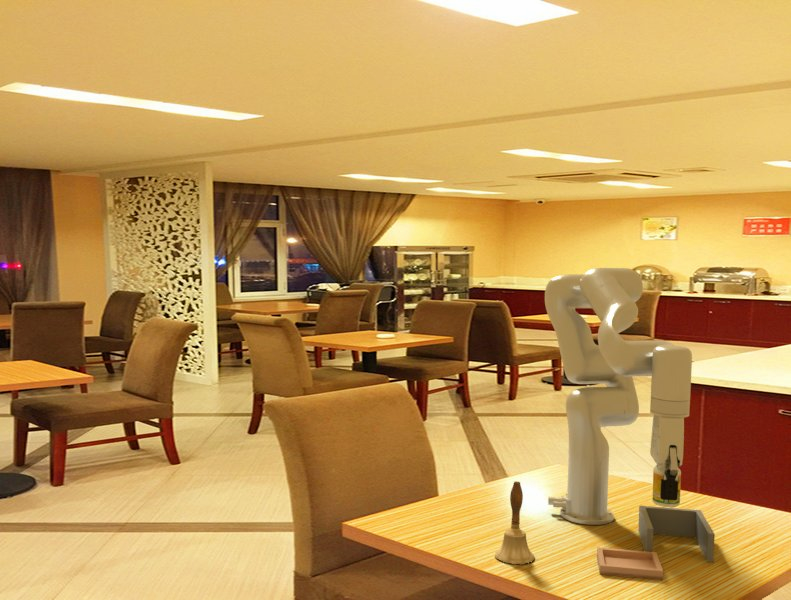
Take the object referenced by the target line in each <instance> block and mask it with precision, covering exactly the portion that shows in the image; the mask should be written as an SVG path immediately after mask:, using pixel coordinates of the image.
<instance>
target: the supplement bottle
mask: <svg viewBox="0 0 791 600" xmlns="http://www.w3.org/2000/svg"><path fill="white" fill-rule="evenodd" d="M665 464H670V462H668V461H665ZM656 465H657V464H656ZM656 465H655V466H654V467H653V469H652V470H653V471H652V475H653V476H652V503H653V504H655V505H656V506H658V507H664V508H676V507H678V506H679V505H681V489H682V488H681V486H682V485H681V481H682V471H681V469H680V468H679V467H678V496H677V500H663V499H661V498H660V491H661V479H663V464H661V465H657V466H656ZM668 469H669V468H666V472H667V470H668Z"/></svg>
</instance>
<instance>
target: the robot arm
mask: <svg viewBox="0 0 791 600" xmlns="http://www.w3.org/2000/svg"><path fill="white" fill-rule="evenodd" d="M643 289H644V285H643V280H642V278H641V277H640V275H639V274H638V272H636V271H635V270H634V269H631V268H628V267H596V268H592V269H589V270H588V271H586V272H584V273H583V274H582V273H581V274H577V273H576V274H572V273H571V274H562V275H561V274H560V275H557V276H554V277H552V278H551V279H550V280H549V281H548V282H547V284H546V287H545V290H544V305H545V310H546V313H547V316H548V318H549V321H550V322H551V325H552V327H553V329H554V332H555V335H556V339H557V344H558V349H559V353H560V357H561V361H562V367H563V370H564V374H565V377H566V379H567V380H568V382H570V383H573V384H578V385H595V384H596V385H597V384H599V385H600V384H601V385H603V384H605V386H589V387H587V386H586V387H580V388H576V389H574V390H572V391H571V392H569V394H568V395H567V397H566V400H565V413H566V418H567V425H568V428H567V429H568V459H567V461H568V462H567V463H568V464H567V492H566V493H565V496H561V497H555V496H548V501H547V503H548V505H549V506H552V507H553V508H560V511H559V512H560V516H561V517H562V518H563V519H564V520H566V521H568V522H572V523H576V524H581V525H588V526H589V525H590V526H591V525H593V526H599V525H600V526H601V525H605V524H610V523H611V522H613V521H614V516H615V515H614V512H612V511H611V510H610V509H608V499H609V498H608V495H609V493H608V492H609V467H610V446H609V442H608V440H607V438H606V436H605V434H604V433H603V431H602V430H601V428H605V427H621V426H622V427H623V426H629V425H631V424H632V425H633V424H634V423H635V422H636V421H637V419H638V417H639V414H640V413H639V412H640V407H639V406H640V405H639V399H638V394H637V389H636V387H635V382H634V378H633V377H651V380H650V381H651V384H650V385H651V386H650V405H649V406H650V408H649V409H650V410H649V413H650V414H651V415H653V417H652V426H651V438H650V447H649V448H650V450H649V452H650V456H651V457H652V460H653V461H654V463H655V466H657V465H661V464H663V479H661V491H660V498H661V499H663V500H677V496H678V468H679V467H681V466H682V465H683V459H684V444H685V443H684V441H685V436H684V435H685V418H688V417H690V406H691V387H692V370H693V369H692V368H693V366H692V364H693V363H692V362H693V354H692V351H691V349H689V348H688V347H686V346H682V345H675V344H673V343H671V342H669V341H666V340H658V339H657V340H656V339H655V340H653V339H652V340H649V339H648V340H646V339H645V340H642V339H641V340H638V339H637V340H625V339H623V337H622V336H621V335H620V333H621V332H624V331H625V330H627V329H629V328H630V327H632V326H633V324H634V323H635V321H636V320H637V318H638V315H639V308H638V305H637V303H636V302H637V301H639V300H640V298H641V297H642V295H643V292H644V290H643ZM576 309H591V310H593V311H594V313H595V315H596V316H597V318H598V319H599V320H600V322H601V323H600V324H599V327H598V331H597V343H598V344H596V343H595V341H594V338H593V334H592V330H591V327H590V325H589V323H588V322H587V321H586V319H584V317H583V316H582V315H581V314H580V313H579V312H578V311H576ZM665 461H668V462H670V464H665ZM666 468H669V469H668V470H667V472H666Z"/></svg>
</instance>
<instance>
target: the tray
mask: <svg viewBox="0 0 791 600" xmlns="http://www.w3.org/2000/svg"><path fill="white" fill-rule="evenodd" d="M596 557H597V558H596V559H597V565H598V572H599V575H603V576H614V577H615V576H616V577H622V578H623V577H624V578H625V577H626V578H637V579H644V580H645V579H647V580H649V579H650V580H657V581H664V569H663V567H662V564H661V562H660V559H659V556H658V553H657V551H653V552H646V551H645V550H634V549H621V548H612V547H611V548H609V547H599V546H598V547H596Z"/></svg>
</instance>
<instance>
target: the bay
mask: <svg viewBox="0 0 791 600" xmlns="http://www.w3.org/2000/svg"><path fill="white" fill-rule="evenodd" d="M704 515H705V514H703V512H702V510H700V509H689V508H676V507H663V506H652V505H651V506H647V505H638V529H637V530H638V535H639V537H640V541H641V543H642V547H643V551H646V552H654V551H653V550H654V549H653V548H654V546H653V545H654V535H658V536H659V535H663V536H670V537H671V536H673V537H685V538H695V540H696V542H697V545H698V546H699V548H700V550H701V552H702V554H703V557H704V558H705V560H706V562H707V563H714V561H715V560H714V559H715V558H714V557H715V539H716V538H715V536H716V535H715V532H714V531H713V528H712V527H711V525H710V523H709V522H708V520H707V518H706V517H705V516H704Z"/></svg>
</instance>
